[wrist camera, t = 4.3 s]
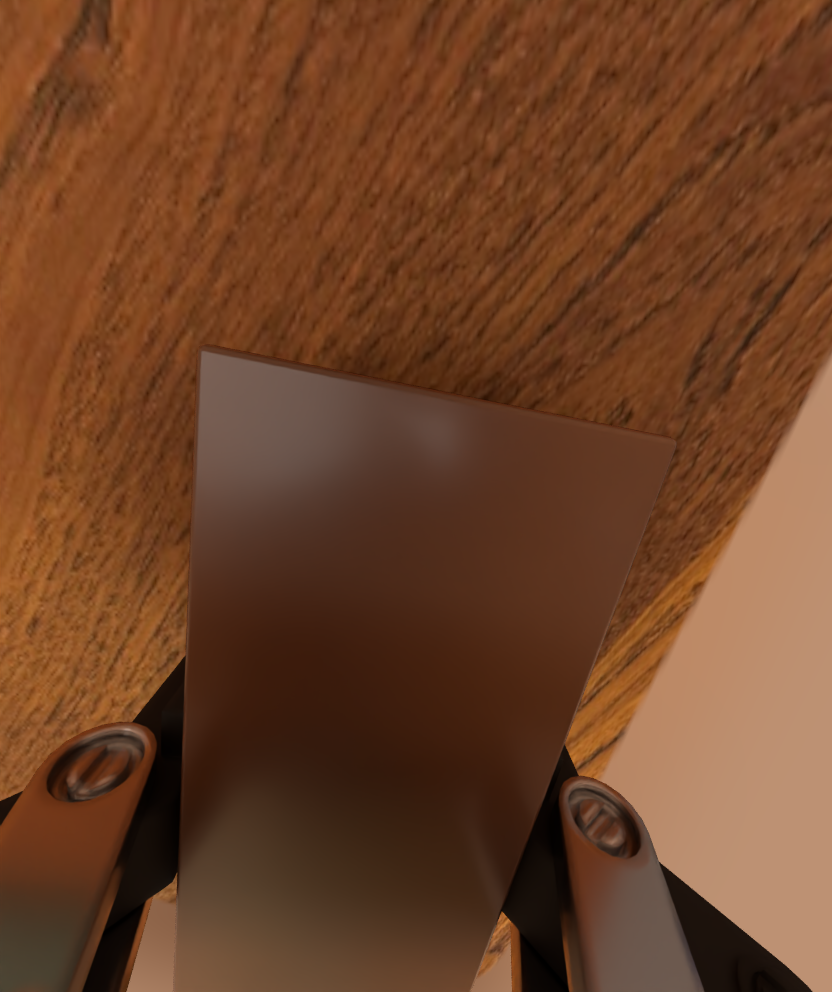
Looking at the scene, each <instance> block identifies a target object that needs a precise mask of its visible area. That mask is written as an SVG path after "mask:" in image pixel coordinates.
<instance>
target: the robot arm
mask: <svg viewBox="0 0 832 992" xmlns="http://www.w3.org/2000/svg"><path fill="white" fill-rule="evenodd" d="M185 661H186V656H185V657H184V658H183V659H182V661H181V662H180V663H179V664H178V666H177V667H176V668H175V669H174V671H173V672H172V673H171V674H170V676H169V677H168V678H167V679H166V681H165V682H164V683H163V684H162V686H161V687H160V688H159V689H158V690H157V692H156V693H155V694H154V695H153V697H152V698H151V699H150V700H149V702H148V703H147V704H146V705H145V707H144V708H143V709H142V710H141V712H140V713H139V714H138V715H137V717H136V718H135V719H134V720H133V722H116V723H110V724H104V725H101V726H98V727H95V728H92V729H90V730H87V731H84V732H82V733H80V734H79V735H77V736H75V737H73V738H71V739H70V740H68V741H66V742H65V743H64V744H62V745H61V746H60V747H59V748H57V749H56V750H55V751H54V752H52V753H51V754H50V755H49V756H48V757H47V759H46V760H45V761H44V762H43V763H42V764H41V766H40V767H39V768H38V769H37V771H36V772H35V774H34V775H33V777H32V779H31V780H30V782H29V783H28V785H27V786H26V788H25V789H24V791H22V792H20V793H17V794H15V795H13V796H11V797H8V798H6V799H4V800H2V801H0V992H126V991H127V988H128V984H129V981H130V977H131V974H132V970H133V966H134V963H135V959H136V956H137V952H138V949H139V945H140V942H141V938H142V935H143V931H144V927H145V924H146V920H147V917H148V913H149V910H150V906H151V903H152V899H153V896H154V895H155V894H156V893H158V892H159V891H161V890H162V889H163V888H165V887H166V886H168V885H169V884H170V883H172V882H173V880H174V878H175V875H176V873H177V872H178V847H179V820H180V794H181V767H182V740H183V714H184V687H185ZM502 912H503V913H504V914H505V915H506V916H507V917H508V918H509V920H510V921H511V966H512V967H511V969H512V992H812V991H811V989H810V988H809V987H808V986H807V985H806V984H805V983H804V982H803V981H802V980H801V979H800V978H798V977H797V976H796V975H795V974H794V973H793V972H792V971H791V970H790V969H789V968H788V967H787V966H785V965H784V964H783V963H782V962H781V961H779V960H778V959H777V958H776V957H775V956H773V955H772V954H771V953H770V952H768V951H767V950H766V949H765V948H764V947H762V946H761V945H760V944H759V943H757V942H756V941H755V940H754V939H753V938H751V937H750V936H749V935H748V934H747V933H745V932H744V931H743V930H742V929H740V928H739V927H738V926H737V925H735V924H734V923H733V922H732V921H731V920H729V919H728V918H727V917H726V916H725V915H723V914H722V913H721V912H720V911H718V910H717V909H716V908H715V907H714V906H712V905H711V904H710V903H709V902H707V901H706V900H705V899H704V898H703V897H701V896H700V895H699V894H697V893H696V892H695V891H694V890H693V889H691V888H690V887H689V886H688V885H687V884H685V883H684V882H683V881H682V880H681V879H679V878H678V877H677V876H676V875H674V874H673V873H672V872H671V871H669V870H668V869H667V868H666V867H665V866H663V865H662V864H661V863H660V862H659V861H658V858H657V855H656V852H655V850H654V847H653V844H652V841H651V838H650V835H649V833H648V831H647V829H646V827H645V825H644V823H643V820H642V819H641V817H640V816H639V815H638V813H637V812H636V811H635V809H634V808H633V807H632V805H631V804H630V803H629V802H628V801H627V800H626V799H625V798H624V797H623V796H622V795H621V794H619V793H618V792H617V791H615V790H614V789H612V788H611V787H609V786H608V785H607V784H605V783H603V782H600V781H598V780H596V779H594V778H590V777H585V776H579V775H578V773H577V771H576V769H575V767H574V764H573V762H572V760H571V758H570V755H569V753H568V751H567V749H566V747H565V744H564V747H563V749H562V752H561V755H560V757H559V760H558V763H557V765H556V768H555V771H554V773H553V776H552V779H551V781H550V784H549V787H548V789H547V792H546V795H545V797H544V800H543V803H542V805H541V808H540V811H539V813H538V816H537V818H536V821H535V824H534V826H533V829H532V832H531V834H530V837H529V840H528V842H527V845H526V848H525V850H524V853H523V856H522V858H521V861H520V864H519V866H518V869H517V872H516V874H515V877H514V880H513V882H512V885H511V887H510V890H509V893H508V895H507V898H506V901H505V903H504V906H503V909H502Z"/></svg>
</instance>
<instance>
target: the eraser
mask: <svg viewBox="0 0 832 992" xmlns="http://www.w3.org/2000/svg"><path fill="white" fill-rule="evenodd" d="M676 446H677V442H676V441H675V440H673V439H672V438H671V437H667V436H662V435H657V434H652V433H647V432H642V431H637V430H632V429H627V428H622V427H617V426H612V425H607V424H602V423H597V422H593V421H588V420H583V419H578V418H573V417H568V416H563V415H558V414H553V413H548V412H543V411H538V410H533V409H528V408H523V407H518V406H513V405H508V404H503V403H498V402H493V401H488V400H483V399H478V398H473V397H468V396H463V395H458V394H453V393H448V392H443V391H438V390H434V389H429V388H424V387H419V386H414V385H409V384H404V383H399V382H394V381H389V380H384V379H379V378H374V377H369V376H364V375H359V374H354V373H349V372H344V371H339V370H334V369H329V368H324V367H319V366H314V365H309V364H304V363H299V362H294V361H289V360H284V359H279V358H274V357H270V356H265V355H260V354H255V353H250V352H245V351H240V350H235V349H230V348H225V347H220V346H215V345H210V344H204V345H200V346H199V348H198V350H197V368H196V395H195V421H194V448H193V474H192V501H191V528H190V554H189V581H188V607H187V634H186V661H185V687H184V714H183V740H182V767H181V794H180V820H179V847H178V873H177V900H176V926H175V953H174V981H173V992H471V991H472V988H473V986H474V983H475V980H476V978H477V975H478V972H479V970H480V967H481V964H482V962H483V959H484V957H485V954H486V951H487V949H488V946H489V943H490V941H491V938H492V935H493V933H494V930H495V927H496V925H497V922H498V919H499V917H500V914H501V911H502V909H503V906H504V903H505V901H506V898H507V895H508V893H509V890H510V887H511V885H512V882H513V880H514V877H515V874H516V872H517V869H518V866H519V864H520V861H521V858H522V856H523V853H524V850H525V848H526V845H527V842H528V840H529V837H530V834H531V832H532V829H533V826H534V824H535V821H536V818H537V816H538V813H539V811H540V808H541V805H542V803H543V800H544V797H545V795H546V792H547V789H548V787H549V784H550V781H551V779H552V776H553V773H554V771H555V768H556V765H557V763H558V760H559V757H560V755H561V752H562V749H563V747H564V744H565V741H566V739H567V736H568V734H569V731H570V728H571V726H572V723H573V720H574V718H575V715H576V712H577V710H578V707H579V704H580V702H581V699H582V696H583V694H584V691H585V688H586V686H587V683H588V680H589V678H590V675H591V672H592V670H593V667H594V664H595V662H596V659H597V657H598V654H599V651H600V649H601V646H602V643H603V641H604V638H605V635H606V633H607V630H608V627H609V625H610V622H611V619H612V617H613V614H614V611H615V609H616V606H617V603H618V601H619V598H620V595H621V593H622V590H623V588H624V585H625V582H626V580H627V577H628V574H629V572H630V569H631V566H632V564H633V561H634V558H635V556H636V553H637V550H638V548H639V545H640V542H641V540H642V537H643V534H644V532H645V529H646V526H647V524H648V521H649V518H650V516H651V513H652V511H653V508H654V505H655V503H656V500H657V497H658V495H659V492H660V489H661V487H662V484H663V481H664V479H665V476H666V473H667V471H668V468H669V465H670V463H671V460H672V457H673V455H674V452H675V449H676Z"/></svg>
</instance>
